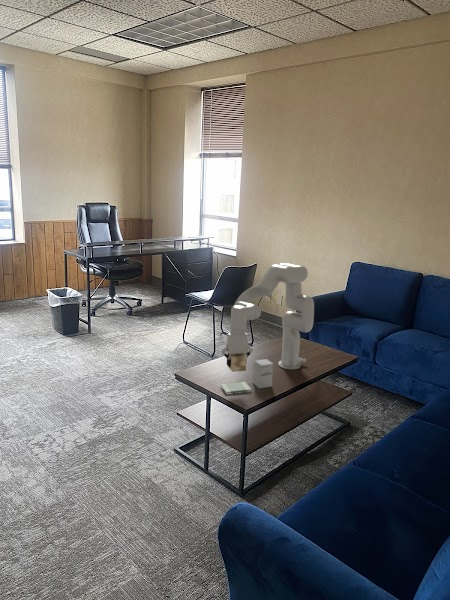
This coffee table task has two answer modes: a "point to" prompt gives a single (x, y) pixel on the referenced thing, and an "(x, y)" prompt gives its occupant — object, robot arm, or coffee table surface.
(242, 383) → the sage board
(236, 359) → the beech block
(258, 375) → the supplement box
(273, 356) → the coffee table surface
